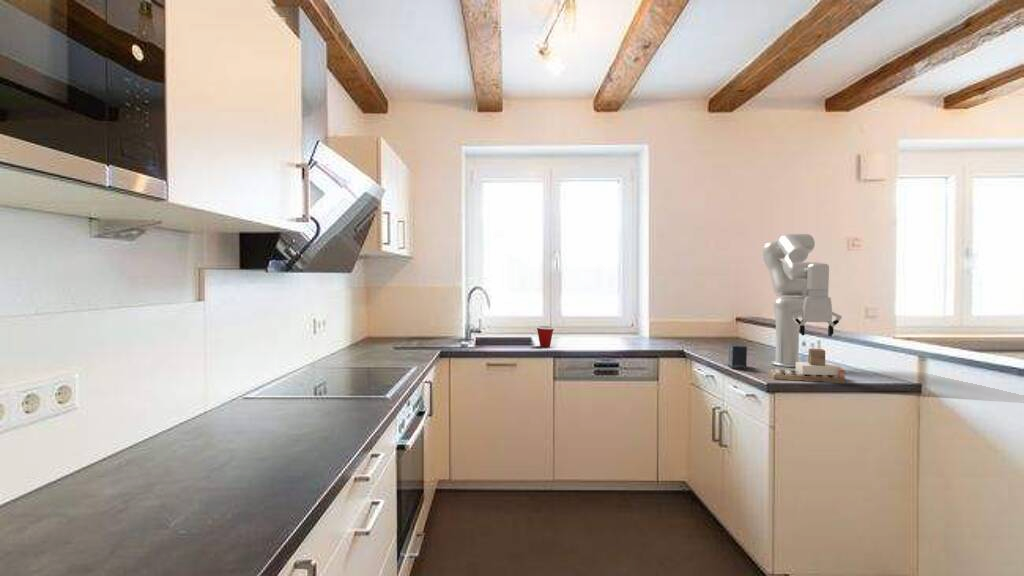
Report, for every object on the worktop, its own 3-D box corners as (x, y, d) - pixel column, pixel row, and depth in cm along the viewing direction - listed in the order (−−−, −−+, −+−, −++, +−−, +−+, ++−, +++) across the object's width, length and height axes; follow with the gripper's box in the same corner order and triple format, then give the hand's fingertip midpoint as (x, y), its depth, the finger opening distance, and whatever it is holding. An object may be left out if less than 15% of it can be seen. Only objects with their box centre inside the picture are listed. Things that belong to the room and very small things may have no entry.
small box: (747, 369, 230) (747, 346, 229) (732, 369, 231) (732, 345, 231) (741, 365, 240) (742, 343, 240) (727, 364, 241) (727, 342, 241)
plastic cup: (544, 348, 296) (544, 327, 295) (532, 346, 304) (532, 326, 304) (558, 346, 303) (558, 326, 302) (545, 344, 311) (545, 324, 311)
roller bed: (770, 373, 221) (770, 361, 221) (837, 377, 212) (837, 365, 212) (773, 379, 209) (773, 366, 209) (845, 383, 201) (845, 370, 200)
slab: (795, 370, 215) (795, 361, 215) (829, 371, 213) (829, 362, 212) (802, 374, 207) (802, 365, 207) (838, 375, 204) (838, 366, 204)
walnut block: (808, 362, 212) (808, 348, 212) (822, 363, 211) (822, 349, 211) (810, 365, 208) (811, 350, 208) (825, 365, 206) (825, 350, 206)
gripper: (794, 294, 208) (793, 336, 209) (844, 294, 202) (843, 338, 203) (791, 292, 215) (790, 333, 216) (839, 293, 209) (838, 335, 210)
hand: (816, 335), depth 210 cm, fingers open, 9 cm apart
